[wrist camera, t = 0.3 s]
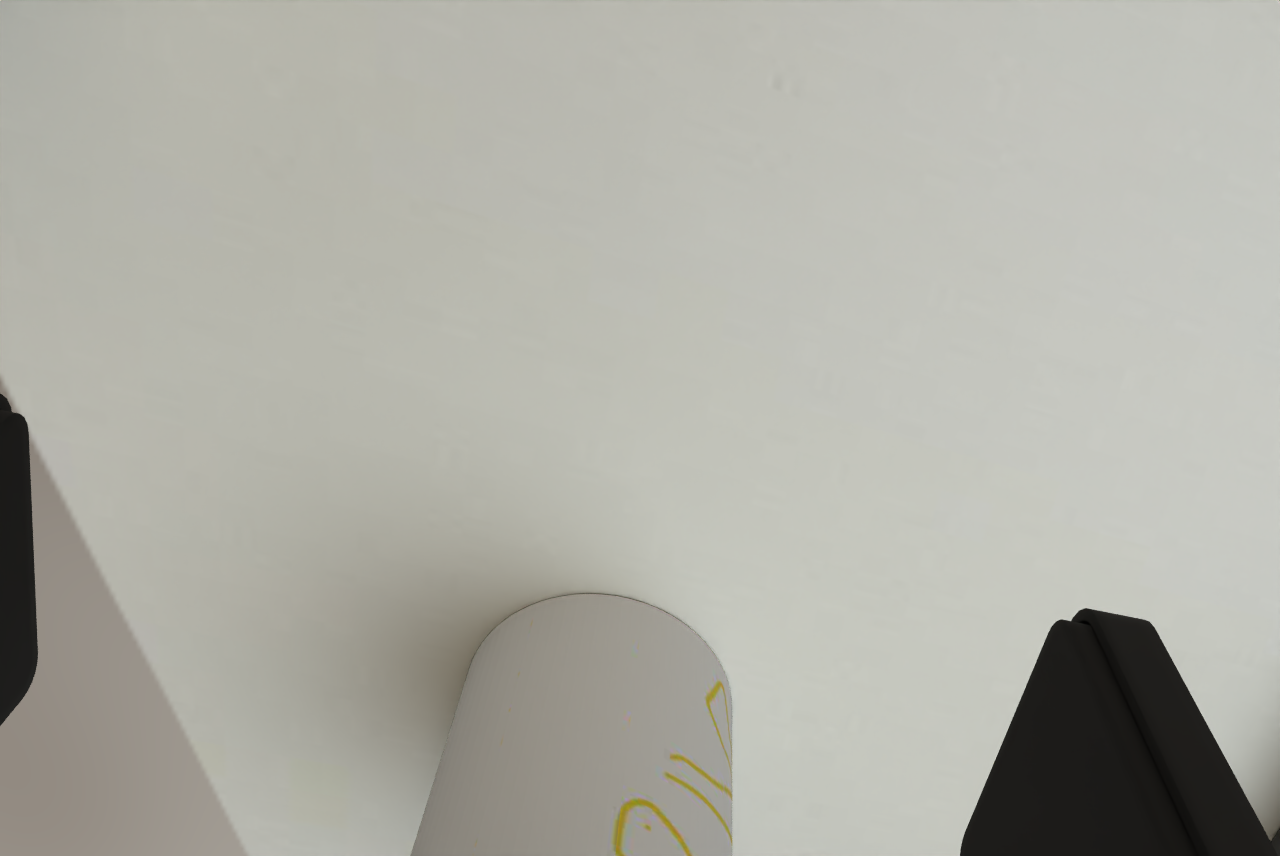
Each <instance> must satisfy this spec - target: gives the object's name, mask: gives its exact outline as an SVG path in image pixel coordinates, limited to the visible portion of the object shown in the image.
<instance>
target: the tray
mask: <svg viewBox="0 0 1280 856" xmlns="http://www.w3.org/2000/svg"><path fill="white" fill-rule="evenodd" d="M1271 843H1272V845H1273V847H1274V849H1275V851H1276V853H1277V854H1278V856H1280V830H1279V831H1278V833H1277V834H1276V836H1275V837H1274V839H1273V841H1272V842H1271Z"/></svg>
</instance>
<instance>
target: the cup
mask: <svg viewBox="0 0 1280 856" xmlns="http://www.w3.org/2000/svg"><path fill="white" fill-rule="evenodd" d="M411 856H732V698H731V692H730V688H729V684H728V680H727V678H726V675H725V672H724V670H723V668H722V666H721V664H720V662H719V661H718V659H717V657H716V656H715V654H714V653H713V652H712V650H711V649H710V648H709V646H708V645H707V644H706V643H705V642H704V641H703V640H702V639H701V638H700V637H699V636H698V635H697V634H696V633H695V632H694V631H693V630H692V629H691V628H689V627H688V626H687V625H685V624H684V623H683V622H681V621H680V620H678V619H676V618H675V617H673V616H672V615H670V614H668V613H666V612H664V611H662V610H660V609H658V608H656V607H653V606H651V605H648V604H646V603H643V602H639V601H636V600H633V599H628V598H624V597H619V596H613V595H604V594H575V595H566V596H561V597H555V598H551V599H547V600H544V601H541V602H538V603H535V604H533V605H530V606H528V607H526V608H524V609H522V610H520V611H518V612H516V613H515V614H513V615H511V616H510V617H508V618H507V619H505V620H504V621H503V622H501V623H500V624H499V625H498V626H497V627H496V628H495V629H494V630H493V631H492V632H491V633H490V634H489V635H488V636H487V637H486V638H485V640H484V641H483V642H482V644H481V645H480V647H479V648H478V650H477V652H476V654H475V655H474V658H473V660H472V662H471V665H470V668H469V671H468V674H467V678H466V681H465V684H464V687H463V690H462V693H461V697H460V700H459V703H458V706H457V709H456V713H455V716H454V719H453V722H452V725H451V728H450V732H449V735H448V738H447V741H446V744H445V748H444V751H443V754H442V757H441V760H440V764H439V767H438V770H437V773H436V776H435V779H434V783H433V786H432V789H431V792H430V795H429V799H428V802H427V805H426V808H425V811H424V814H423V818H422V821H421V824H420V827H419V830H418V834H417V837H416V840H415V843H414V846H413V850H412V853H411Z"/></svg>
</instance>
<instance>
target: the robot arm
mask: <svg viewBox="0 0 1280 856" xmlns="http://www.w3.org/2000/svg"><path fill="white" fill-rule="evenodd" d="M31 503H32V502H31V479H30V455H29V432H28V425H27V422H26V420H25V418H24V417H23V416H22V415H21V414H18V413H13V412H12V411H11V406H10V405H9V402H8V400H7V398H5V397H4V396H3V395H2V394H0V725H1V724H2V723H3V722H4V721H5V719H6V718H7V717H8V716H9V714H10V713H11V712H12V711H13V710H14V708H15V707H16V706H17V705H18V704H19V702H20V701H21V700H22V699H23V697H24V696H25V694H26V693H27V691H28V689H29V687H30V685H31V683H32V680H33V677H34V674H35V671H36V666H37V659H38V646H37V624H36V623H37V622H36V598H35V574H34V550H33V527H32V504H31ZM960 856H1278V854H1277V853H1276V851H1275V849H1274V847H1273V845H1272V843H1271V842H1270V840H1269V838H1268V836H1267V834H1266V832H1265V831H1264V829H1263V827H1262V825H1261V823H1260V821H1259V819H1258V818H1257V816H1256V814H1255V812H1254V810H1253V808H1252V807H1251V805H1250V803H1249V801H1248V799H1247V797H1246V795H1245V794H1244V792H1243V790H1242V788H1241V786H1240V784H1239V783H1238V781H1237V779H1236V777H1235V775H1234V773H1233V771H1232V770H1231V768H1230V766H1229V764H1228V762H1227V760H1226V759H1225V757H1224V755H1223V753H1222V751H1221V749H1220V748H1219V746H1218V744H1217V742H1216V740H1215V738H1214V736H1213V735H1212V733H1211V731H1210V729H1209V727H1208V725H1207V724H1206V722H1205V720H1204V718H1203V716H1202V714H1201V712H1200V711H1199V709H1198V707H1197V705H1196V703H1195V701H1194V700H1193V698H1192V696H1191V694H1190V692H1189V690H1188V688H1187V687H1186V685H1185V683H1184V681H1183V679H1182V677H1181V676H1180V674H1179V672H1178V670H1177V668H1176V666H1175V665H1174V663H1173V661H1172V659H1171V657H1170V655H1169V653H1168V652H1167V650H1166V648H1165V646H1164V644H1163V642H1162V641H1161V639H1160V637H1159V635H1158V633H1157V631H1156V629H1155V628H1154V627H1153V625H1152V624H1151V623H1150V622H1149V621H1146V620H1143V619H1138V618H1133V617H1128V616H1123V615H1118V614H1112V613H1107V612H1102V611H1097V610H1092V609H1087V608H1085V609H1083V610H1080V611H1079V612H1078V613H1077V614H1076V615H1075V616H1074V617H1073V619H1072V621H1066V620H1059V621H1056V622H1055V624H1054V625H1053V626H1052V627H1051V629H1050V631H1049V633H1048V635H1047V638H1046V640H1045V642H1044V645H1043V647H1042V650H1041V652H1040V654H1039V657H1038V659H1037V662H1036V664H1035V666H1034V669H1033V671H1032V674H1031V676H1030V678H1029V681H1028V683H1027V686H1026V688H1025V690H1024V693H1023V695H1022V697H1021V700H1020V702H1019V705H1018V707H1017V709H1016V712H1015V714H1014V717H1013V719H1012V721H1011V724H1010V726H1009V729H1008V731H1007V733H1006V736H1005V738H1004V741H1003V743H1002V745H1001V748H1000V750H999V753H998V755H997V757H996V760H995V762H994V764H993V767H992V769H991V772H990V774H989V776H988V779H987V781H986V784H985V786H984V788H983V791H982V793H981V796H980V798H979V800H978V803H977V805H976V808H975V810H974V812H973V815H972V817H971V819H970V822H969V824H968V827H967V829H966V831H965V834H964V837H963V841H962V846H961V852H960Z"/></svg>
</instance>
